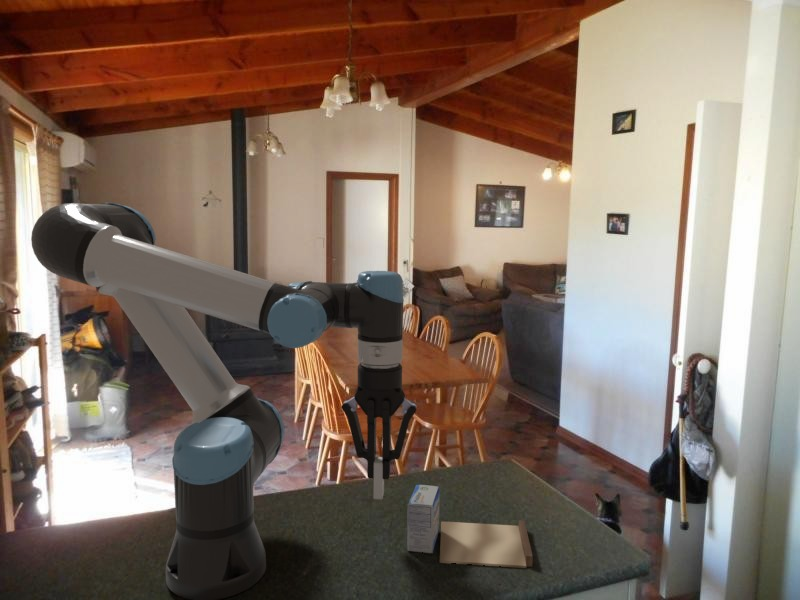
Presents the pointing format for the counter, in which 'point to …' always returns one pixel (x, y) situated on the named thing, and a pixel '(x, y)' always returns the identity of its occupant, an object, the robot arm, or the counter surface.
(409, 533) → the medicine box
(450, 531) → the light wooden board
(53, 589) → the counter surface
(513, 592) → the counter surface
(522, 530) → the stop rail
